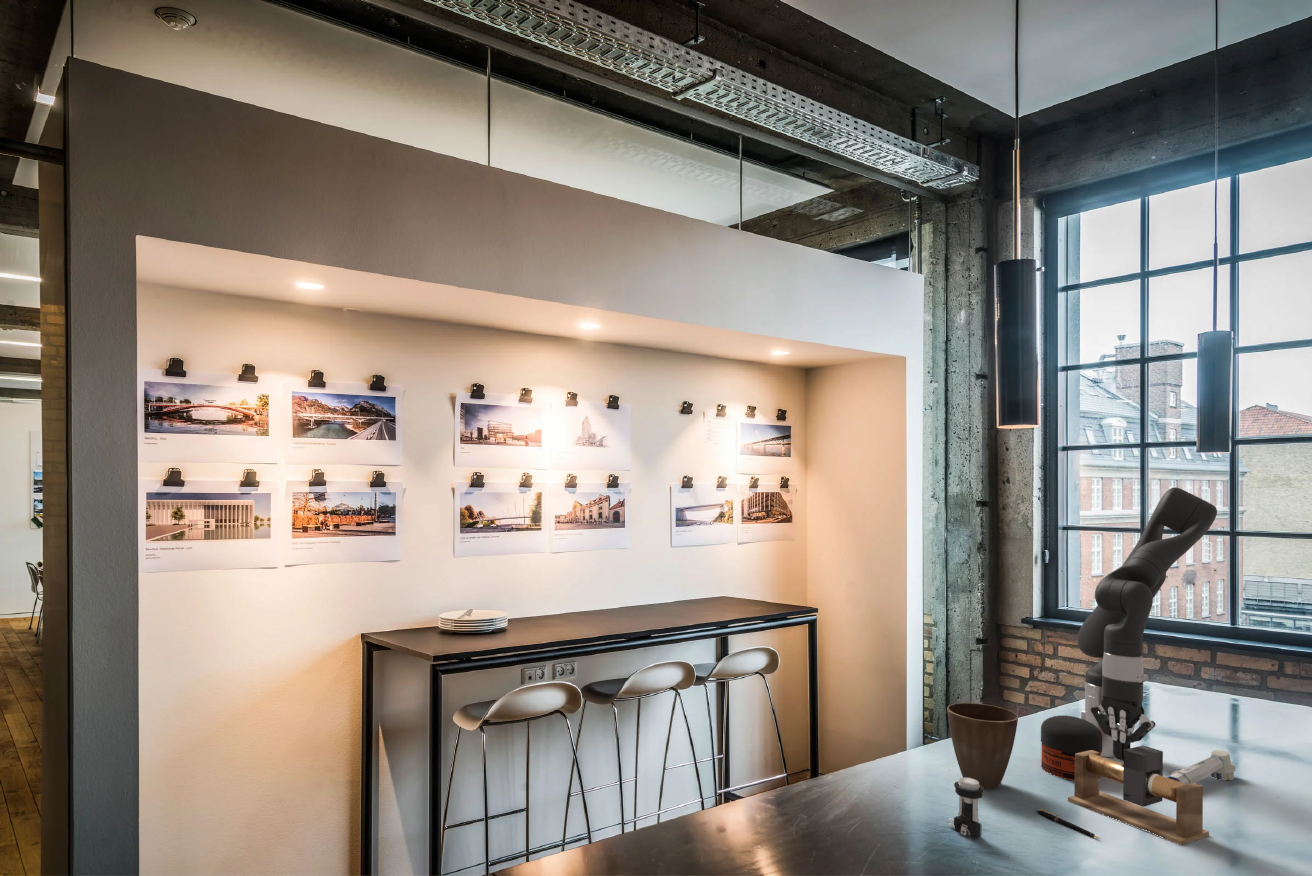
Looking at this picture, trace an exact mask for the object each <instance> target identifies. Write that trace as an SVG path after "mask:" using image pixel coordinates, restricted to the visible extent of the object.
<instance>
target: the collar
mask: <svg viewBox="0 0 1312 876" xmlns="http://www.w3.org/2000/svg"><path fill="white" fill-rule="evenodd" d="M1123 764H1124V766H1123V784H1122V785H1123V786H1122V787H1123V788H1122V789H1123V790H1122V797H1123V798H1122V800H1125V801H1127V802H1130V803H1133V804H1136V805H1138V806H1141V807H1144V808H1146V807H1147V806H1150V805H1154V804H1157V803H1160V802H1163V798H1162V797H1159V796H1155V795H1152V794H1149V793H1146V773H1147V772H1152V773H1155V774H1158V775H1160V776H1163V774H1164V773H1163V771H1164V769H1163V768H1164V767H1163V766H1164V765H1163V764H1164V751H1162V750H1159V749H1156V748H1153V747H1150V746H1146V745H1144V744H1143V745H1138V746H1133V747H1130V749H1125V750H1124V761H1123ZM1163 777H1164V776H1163Z"/></svg>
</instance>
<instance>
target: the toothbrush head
mask: <svg viewBox="0 0 1312 876" xmlns="http://www.w3.org/2000/svg"><path fill="white" fill-rule="evenodd" d="M1234 772H1236V765H1235V764H1234V763H1232V761H1231V756H1230V753H1229V752H1228V751H1225V750H1221V749H1215V750H1213V751H1211V754H1210V757H1207V758H1205V759H1203V760H1201V761H1198V762H1196V763H1194V764H1191V765H1188V766H1187V767H1184V768H1182V769H1180V770H1176V769H1175V770H1174V771H1173V772H1171V773H1169V776H1167V777H1166V778H1169V779H1172V780H1175V781H1178V782H1181V783H1184V784H1191V783H1195V784H1198V783H1200V782H1201V781H1202V780H1204V779H1205V778H1207V777H1208V776H1209V777H1211V776H1212V777H1214V778H1213V779H1215V778H1217V779H1216V780H1218V779H1221V780H1220V781H1225V782H1226V780H1227V781H1233V780H1234V779H1235V774H1234ZM1212 777H1211V778H1212Z"/></svg>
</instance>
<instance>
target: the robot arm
mask: <svg viewBox="0 0 1312 876" xmlns="http://www.w3.org/2000/svg"><path fill="white" fill-rule="evenodd" d="M1217 514H1218V509H1217V507H1216V506H1215V505H1213V504H1212V503H1210V502H1209V501H1207V500H1205V499H1204V498H1203V499H1202V498H1201V497H1199V496H1196V495H1195V494H1192V493H1190V492H1189V491H1186V490H1184V489H1182V488H1180V487H1177V486H1174V487H1171V488H1169V489H1168V490H1166V492H1165V493H1164V494H1163V495H1162V497H1161V498H1160V499H1159V501H1158V502H1157V505H1156V507H1155V508H1154V510H1153V512H1152V515H1151V516H1150V518H1149V520H1148V523H1147V524H1146V526H1145V528H1144V530H1143V532H1142V534H1141V536H1140V537H1139V540H1138V541H1137V543H1136V544H1135V546H1134V547H1133V549H1132V551H1130V553H1129V555H1128V556H1127V557H1126V560H1125V561H1124V562H1123V564H1122V565H1121V566H1120V567H1118V568H1116V569H1115V570H1113V571H1112V572H1109V573H1108V574H1107V575H1105V576H1104V577H1103V578H1101V580H1100V581H1099V582H1098V584H1097V585H1096V588H1095V591H1094V600H1095V602H1096V604H1097V606H1095V608H1094V609H1093V611H1092V612H1091V613H1090V614H1089V615H1088V616H1087V618H1086V619H1085V621H1084V622H1083V623H1082V624H1081V627H1080V628H1079V631H1078V635H1077V643H1078V648H1079V649H1080V650H1081V652H1082V653H1083V654H1084V655H1086V656H1088V657H1090V658H1097V659H1099V658H1100V660H1099V662H1098V663H1097V664H1096V665H1094V666H1092V667H1091V668H1089V669H1086V672H1085V675H1084V681H1085V682H1084V684H1085V685H1084V709H1083V710H1081V712H1080V718H1081V719H1084V720H1086V721H1089V722H1090V723H1092V724H1094V725H1095V726H1096V727H1097V728H1098V729H1099V730H1100V731H1101V734H1102V752H1101V756H1102V757H1105V758H1113V759H1114V758H1115V759H1117V760H1119V761H1122V762H1124V750H1125V749H1130V748H1131V744H1132V743H1136V742H1141V740H1142V739H1144V737H1146V735H1147V734H1149V733H1150V731H1152V730H1153V729H1154V727H1156V722H1155V721H1154V720H1150V719H1149V718H1148V717H1147V715H1146V714H1145V713H1146V712H1145V708H1144V706H1143V701H1144V679H1145V675H1144V674H1145V673H1144V670H1145V669H1144V662H1143V637H1144V636H1143V635H1144V633H1145V629H1146V627H1147V626H1146V625H1147V621H1148V619H1149V615H1150V613H1151V610H1152V607H1153V603H1154V602H1153V600H1154V598H1155V597H1156V595H1157V594H1158V593H1159V591H1160V590H1161V588H1162V586H1163V584H1164V583H1165V581H1166V578H1167V571H1169V570H1170V569H1171V567H1172V565H1174V563H1176V562H1177V561H1178V560H1179V559H1180V558H1181V557H1182V556H1184V555H1185V554H1186V553H1187V552H1188V551H1189V550H1190V549H1192V547H1193V546H1194V545H1196V543H1197V542H1199V541H1200V540H1201V538H1202V537H1203V536H1205V534H1207V532H1208V531H1209V529H1210V528H1211V527H1212V525H1213V523H1214V521H1215V520H1216V518H1217ZM1165 528H1167V529H1169V530H1171V531H1174V532H1175V533H1177V535H1175V536H1171V537H1167V538H1163V534H1164V530H1165ZM1122 622H1123V623H1122ZM1137 723H1138V726H1139V727H1138V728H1136V729H1135V726H1136V724H1137Z"/></svg>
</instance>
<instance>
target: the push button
mask: <svg viewBox="0 0 1312 876" xmlns="http://www.w3.org/2000/svg"><path fill="white" fill-rule="evenodd" d="M953 784H954V785H953V786H954V789H955V791H954V792H955V793H956V795H957V796H959V797H958V800H959V801H958V812H957V816H953V818H952V817H949V818H948V820H949V821H951V822H949V823H948V825H950V826H952V827H954V831H956V832H958V833H960V834H961V835H963V836H967V837H969V838H971V839H972V840H977V839H979V838H982V836H983V835H982V834H983V833H982V832H983V824H982V822H980V818H979V799H982V797H983V793H984V792H985V789H984V788H983V787H982V786H981V785H979V782H978V781H977V780H975V779H972V778H965V777H964V778H963V777H959V779H958V781H955V782H954V783H953ZM952 822H953V823H952Z"/></svg>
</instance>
